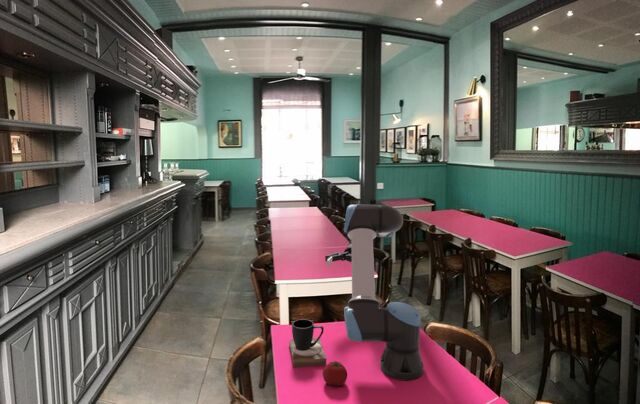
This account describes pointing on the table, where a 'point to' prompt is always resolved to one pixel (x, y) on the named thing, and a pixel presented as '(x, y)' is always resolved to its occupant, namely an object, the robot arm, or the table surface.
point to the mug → (304, 334)
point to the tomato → (335, 373)
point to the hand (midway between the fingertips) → (342, 264)
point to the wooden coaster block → (308, 355)
